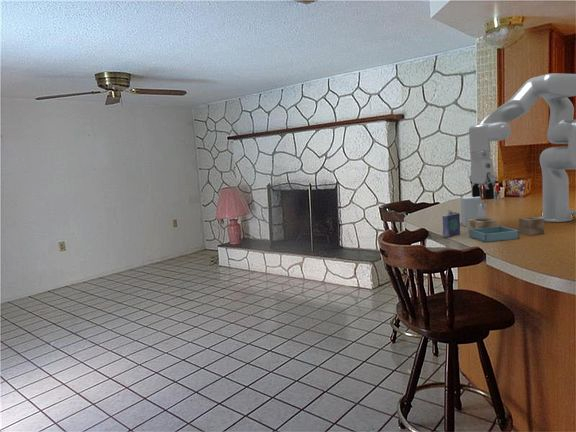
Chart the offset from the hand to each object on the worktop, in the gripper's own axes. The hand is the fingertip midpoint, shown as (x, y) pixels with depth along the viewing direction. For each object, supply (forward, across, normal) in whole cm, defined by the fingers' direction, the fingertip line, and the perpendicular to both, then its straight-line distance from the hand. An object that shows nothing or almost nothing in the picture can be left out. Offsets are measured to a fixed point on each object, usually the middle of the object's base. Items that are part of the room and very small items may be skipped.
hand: (482, 197), depth 171 cm
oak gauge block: (+14, 0, +1) cm, 14 cm away
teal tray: (+14, -12, +4) cm, 19 cm away
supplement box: (+15, +17, -4) cm, 23 cm away
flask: (+14, -1, +15) cm, 20 cm away
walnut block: (+15, -12, -12) cm, 22 cm away
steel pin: (+14, 0, +1) cm, 14 cm away
